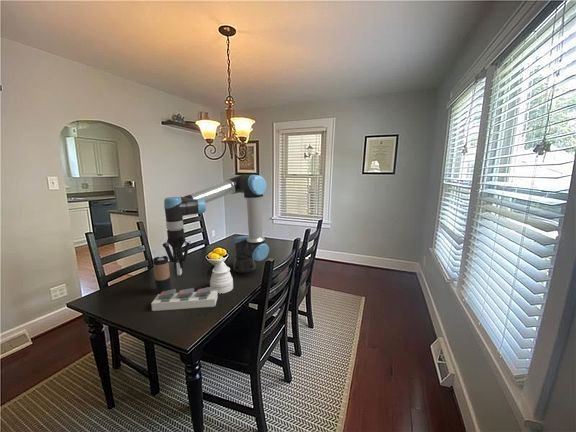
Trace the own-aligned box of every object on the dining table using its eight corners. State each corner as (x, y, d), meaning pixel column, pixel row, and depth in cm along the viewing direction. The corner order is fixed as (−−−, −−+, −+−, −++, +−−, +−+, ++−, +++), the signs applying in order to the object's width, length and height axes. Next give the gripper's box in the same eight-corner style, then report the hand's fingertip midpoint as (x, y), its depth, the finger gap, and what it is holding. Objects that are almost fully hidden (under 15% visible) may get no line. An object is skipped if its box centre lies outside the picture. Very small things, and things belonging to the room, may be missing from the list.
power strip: (217, 297, 134) (217, 290, 134) (215, 306, 126) (214, 298, 125) (159, 301, 131) (158, 294, 130) (152, 311, 122) (151, 303, 121)
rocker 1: (176, 291, 130) (175, 288, 129) (173, 296, 125) (172, 293, 125) (162, 294, 129) (161, 291, 129) (159, 299, 124) (158, 296, 124)
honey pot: (232, 292, 140) (231, 262, 136) (208, 294, 138) (206, 263, 134) (233, 282, 152) (232, 254, 149) (212, 284, 150) (210, 255, 146)
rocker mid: (194, 290, 131) (193, 287, 131) (192, 295, 126) (191, 292, 126) (180, 292, 130) (180, 289, 130) (177, 297, 125) (177, 294, 125)
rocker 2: (211, 289, 132) (211, 286, 132) (210, 293, 127) (209, 290, 127) (198, 292, 131) (197, 289, 131) (196, 296, 127) (195, 294, 126)
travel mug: (163, 296, 136) (160, 261, 132) (153, 293, 138) (149, 259, 134) (174, 289, 143) (171, 256, 139) (164, 287, 145) (160, 255, 142)
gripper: (191, 226, 126) (194, 270, 130) (163, 227, 124) (168, 271, 129) (187, 230, 118) (191, 276, 123) (158, 231, 117) (163, 278, 121)
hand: (179, 274), depth 126 cm, fingers closed
